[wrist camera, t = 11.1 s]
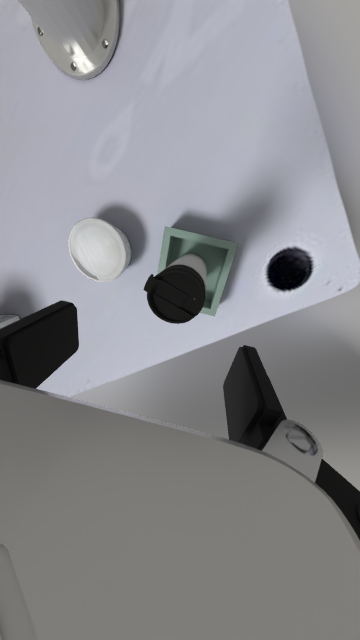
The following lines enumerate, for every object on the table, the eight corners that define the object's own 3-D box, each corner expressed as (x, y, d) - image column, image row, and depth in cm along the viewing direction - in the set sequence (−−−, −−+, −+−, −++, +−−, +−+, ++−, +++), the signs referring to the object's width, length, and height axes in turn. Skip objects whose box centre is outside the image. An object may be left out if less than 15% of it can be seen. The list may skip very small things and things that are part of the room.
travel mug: (184, 245, 35) (159, 253, 17) (212, 264, 36) (218, 290, 18) (168, 273, 38) (133, 306, 20) (195, 290, 38) (185, 337, 20)
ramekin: (76, 254, 39) (58, 256, 35) (99, 206, 35) (82, 201, 30) (119, 287, 41) (107, 293, 36) (146, 246, 37) (137, 247, 32)
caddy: (170, 227, 35) (164, 226, 30) (234, 242, 34) (238, 243, 30) (159, 294, 40) (153, 301, 36) (213, 307, 40) (214, 316, 35)
